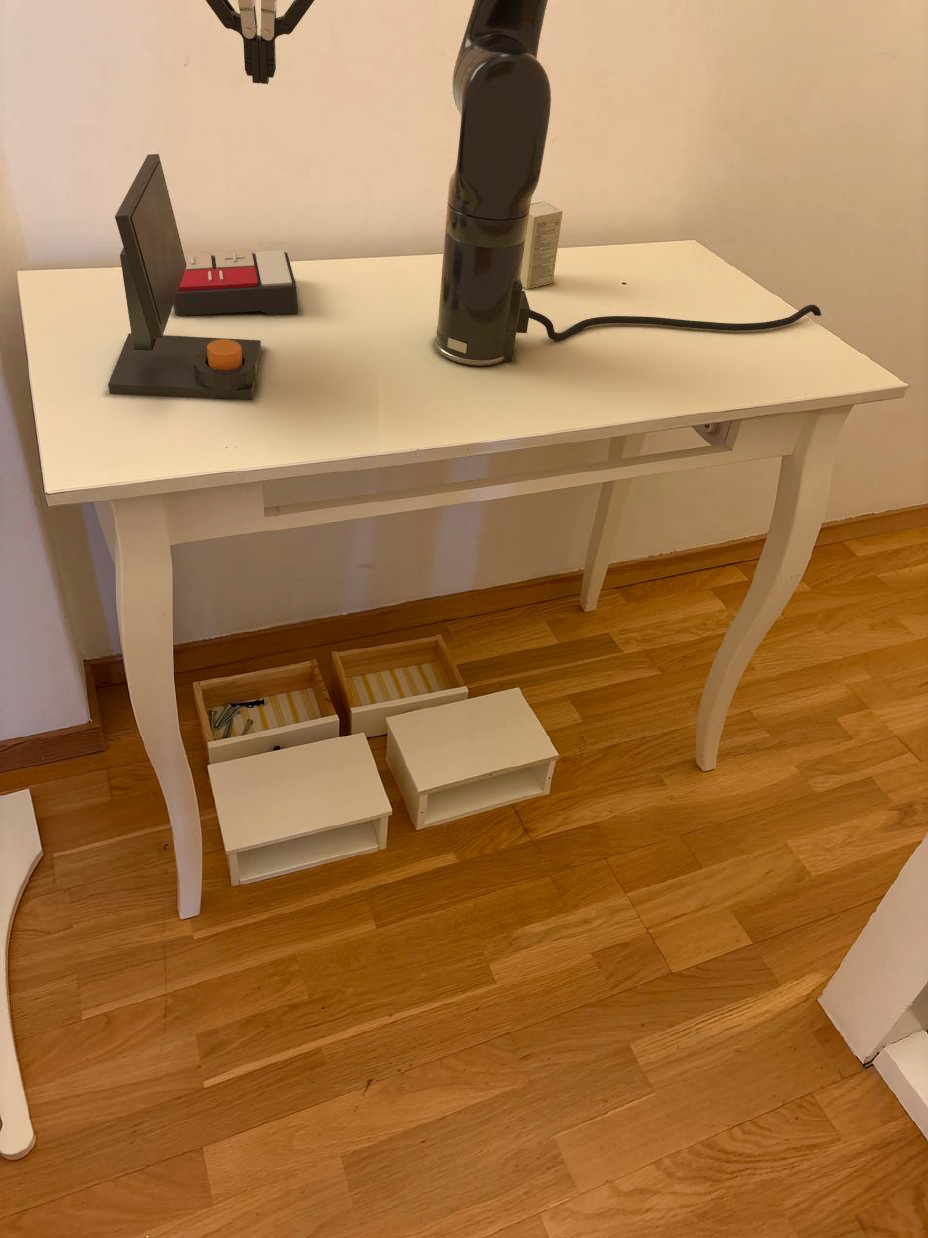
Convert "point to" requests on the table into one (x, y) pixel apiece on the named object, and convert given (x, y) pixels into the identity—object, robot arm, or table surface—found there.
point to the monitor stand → (135, 310)
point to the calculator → (237, 284)
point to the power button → (224, 354)
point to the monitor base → (184, 370)
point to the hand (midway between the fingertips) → (261, 81)
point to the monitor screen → (152, 244)
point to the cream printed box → (540, 245)
